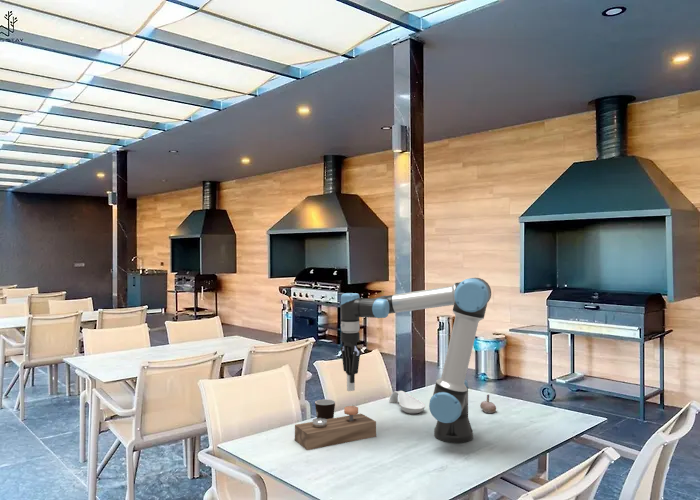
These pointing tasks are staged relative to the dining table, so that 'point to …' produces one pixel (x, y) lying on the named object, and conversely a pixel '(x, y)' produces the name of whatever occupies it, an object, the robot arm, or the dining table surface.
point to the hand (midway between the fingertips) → (350, 390)
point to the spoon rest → (407, 402)
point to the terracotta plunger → (351, 411)
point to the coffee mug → (325, 408)
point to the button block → (335, 431)
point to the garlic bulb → (488, 406)
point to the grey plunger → (319, 422)
